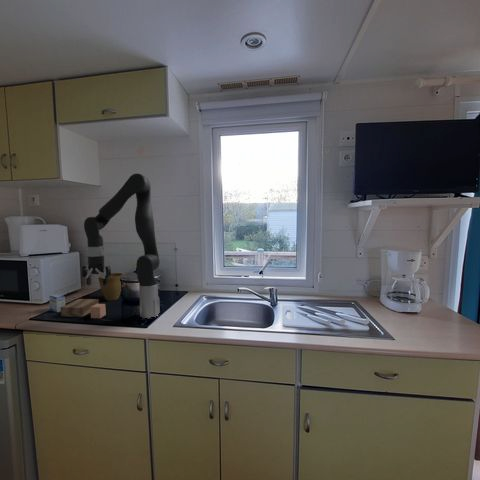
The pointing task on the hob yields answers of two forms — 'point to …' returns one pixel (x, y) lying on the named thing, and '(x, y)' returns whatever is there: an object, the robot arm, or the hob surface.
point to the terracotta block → (98, 310)
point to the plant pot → (111, 286)
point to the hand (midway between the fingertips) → (97, 285)
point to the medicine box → (56, 302)
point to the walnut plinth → (78, 307)
